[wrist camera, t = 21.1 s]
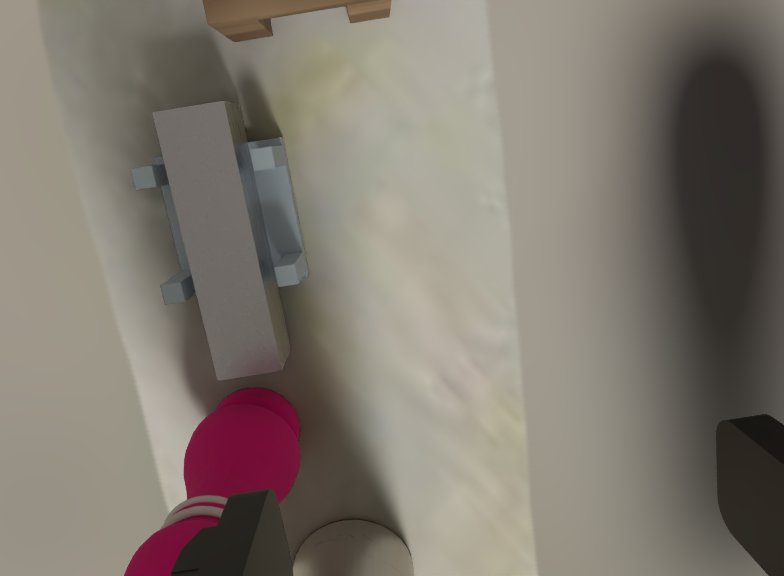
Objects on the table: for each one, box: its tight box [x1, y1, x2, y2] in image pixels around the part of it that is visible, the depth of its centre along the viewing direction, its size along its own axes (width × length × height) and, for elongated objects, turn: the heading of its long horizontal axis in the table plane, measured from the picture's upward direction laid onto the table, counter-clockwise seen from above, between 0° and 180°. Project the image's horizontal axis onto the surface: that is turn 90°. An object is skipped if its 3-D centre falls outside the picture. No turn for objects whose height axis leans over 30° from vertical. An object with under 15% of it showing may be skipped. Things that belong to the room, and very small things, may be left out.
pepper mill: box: [124, 388, 300, 576], centre depth 33 cm, size 7×7×20 cm
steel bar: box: [152, 101, 291, 381], centre depth 37 cm, size 16×4×4 cm, turn 9°
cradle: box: [130, 137, 309, 305], centre depth 37 cm, size 9×8×5 cm
